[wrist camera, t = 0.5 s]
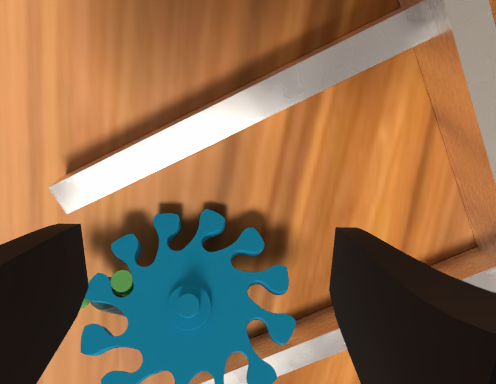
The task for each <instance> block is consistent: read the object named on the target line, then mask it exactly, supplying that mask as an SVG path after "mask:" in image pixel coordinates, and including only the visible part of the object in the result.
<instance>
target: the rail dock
mask: <svg viewBox="0 0 496 384" xmlns="http://www.w3.org/2000/svg"><path fill="white" fill-rule="evenodd" d="M399 3H400V6H401V8H399V9H397V10H395V11H393V12H391V13H389V14H386V15H384V16H382V17H380V18H378V19H376V20H374V21H372V22H370V23H368V24H366V25H364V26H362V27H360V28H358V29H356V30H354V31H352V32H350V33H348V34H346V35H344V36H342V37H340V38H338V39H336V40H334V41H332V42H330V43H328V44H326V45H324V46H322V47H320V48H318V49H316V50H314V51H312V52H310V53H308V54H306V55H304V56H302V57H300V58H298V59H296V60H294V61H292V62H290V63H288V64H286V65H284V66H282V67H280V68H278V69H276V70H274V71H272V72H270V73H268V74H266V75H264V76H262V77H260V78H258V79H256V80H254V81H252V82H250V83H248V84H246V85H244V86H242V87H240V88H238V89H236V90H234V91H232V92H230V93H228V94H226V95H224V96H222V97H220V98H218V99H216V100H214V101H212V102H210V103H208V104H206V105H204V106H202V107H200V108H198V109H196V110H194V111H192V112H190V113H188V114H186V115H184V116H182V117H180V118H178V119H176V120H174V121H172V122H170V123H168V124H166V125H164V126H162V127H160V128H158V129H156V130H154V131H152V132H150V133H148V134H146V135H144V136H142V137H140V138H138V139H136V140H134V141H132V142H130V143H128V144H126V145H124V146H122V147H120V148H118V149H116V150H114V151H112V152H110V153H108V154H106V155H104V156H102V157H100V158H98V159H96V160H94V161H92V162H90V163H88V164H86V165H84V166H82V167H80V168H78V169H76V170H74V171H72V172H70V173H68V174H66V175H65V176H63V177H62V178H60V179H59V180H58V181H56V182H55V183H54V184H52V185H51V186H50V187H48V188H49V189H50V191H51V192H52V193H53V195H54V196H55V198H56V199H57V201H58V202H59V203H60V205H61V206H62V208H63V209H64V211H65V212H66V214H68V213H71V212H73V211H75V210H77V209H79V208H81V207H83V206H85V205H87V204H89V203H91V202H93V201H95V200H97V199H100V198H102V197H104V196H106V195H108V194H110V193H112V192H114V191H116V190H118V189H120V188H122V187H124V186H126V185H128V184H131V183H133V182H135V181H137V180H139V179H141V178H143V177H145V176H147V175H149V174H151V173H153V172H155V171H157V170H159V169H162V168H164V167H166V166H168V165H170V164H172V163H174V162H176V161H178V160H180V159H182V158H184V157H186V156H188V155H191V154H193V153H195V152H197V151H199V150H201V149H203V148H205V147H207V146H209V145H211V144H213V143H215V142H217V141H219V140H222V139H224V138H226V137H228V136H230V135H232V134H234V133H236V132H238V131H240V130H242V129H244V128H246V127H248V126H250V125H253V124H255V123H257V122H259V121H261V120H263V119H265V118H267V117H269V116H271V115H273V114H275V113H277V112H279V111H282V110H284V109H286V108H288V107H290V106H292V105H294V104H296V103H298V102H300V101H302V100H304V99H306V98H308V97H310V96H313V95H315V94H317V93H319V92H321V91H323V90H325V89H327V88H329V87H331V86H333V85H335V84H337V83H339V82H341V81H344V80H346V79H348V78H350V77H352V76H354V75H356V74H358V73H360V72H362V71H364V70H366V69H368V68H370V67H373V66H375V65H377V64H379V63H381V62H383V61H385V60H387V59H389V58H391V57H393V56H395V55H397V54H399V53H401V52H404V51H406V50H408V49H410V48H412V47H414V50H415V53H416V56H417V59H418V63H419V66H420V69H421V72H422V75H423V78H424V81H425V85H426V88H427V91H428V94H429V97H430V100H431V103H432V106H433V110H434V113H435V116H436V119H437V122H438V125H439V128H440V132H441V135H442V138H443V141H444V144H445V147H446V150H447V153H448V157H449V160H450V163H451V166H452V169H453V172H454V175H455V178H456V182H457V185H458V188H459V191H460V194H461V197H462V200H463V204H464V207H465V210H466V213H467V216H468V219H469V222H470V225H471V229H472V232H473V235H474V238H475V241H476V244H477V247H475V248H473V249H470V250H468V251H465V252H463V253H461V254H458V255H456V256H453V257H451V258H448V259H446V260H443V261H441V262H438V263H436V264H434V265H431V266H430V267H432V268H434V269H436V270H439V271H441V272H443V273H445V274H447V275H450V276H452V277H454V278H457V279H459V280H462V281H464V282H467V283H469V284H472V285H474V286H477V287H480V288H483V289H485V290H488V291H491V292H496V27H495V23H494V19H493V15H492V10H491V6H490V2H489V0H399ZM249 341H250V343H251V346H252V348H253V349H254V351H255V352H256V354H257V355H258V356H259V357H260V358H261V359H262V360H263V361H265V362H266V363H268V364H270V365H271V366H272V367H273V368H274V370H275V372H276V375H277V376H280V375H283V374H285V373H288V372H290V371H293V370H295V369H298V368H301V367H303V366H306V365H308V364H311V363H313V362H316V361H319V360H321V359H324V358H326V357H329V356H331V355H334V354H337V353H339V352H342V351H344V350H347V347H346V344H345V342H344V339H343V336H342V334H341V331H340V328H339V326H338V323H337V320H336V317H335V313H334V309H333V306H330V307H328V308H325V309H323V310H320V311H318V312H315V313H313V314H311V315H308V316H306V317H303V318H301V319H298V320H296V324H295V328H294V331H293V333H292V335H291V337H290V339H289V340H288V341H287V342H286V344H284V345H279V344H277V343H275V342H274V341H272V339H271V338H270V336H269V333H268V332H266V333H264V334H261V335H259V336H256V337H254V338H252V339H249ZM248 364H249V363H248V359H247V357H246V356H245V355H244V354H243V353H240V352H235V353H232V354H231V355H230V356H229V357H228V359H227V362H226V366H225V372H224V384H247V380H246V377H247V371H248ZM189 384H215V382H214V378H213V376H212V375H211V374H210V373H209V372H206V371H203V372H200V373H198V374H197V375H196V376H195V377H194V378H193V379H192V380H191V381H190V383H189Z"/></svg>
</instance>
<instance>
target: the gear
mask: <svg viewBox="0 0 496 384" xmlns="http://www.w3.org/2000/svg"><path fill="white" fill-rule="evenodd" d="M154 227H155V229H156V231H157V233H158V237H159V247H158V252H157V255H156V258H155V261H154V262H153V263H152V264H151V265H150V266H147V267H141V266H139V265H138V259H139V256H140V253H141V244H140V242H139V241H138V239H137V238H136V236H135V235H133V234H128V235H125V236H123V237H121V238H119V239H118V240H116V241H115V242H113V243H112V244H111V249H112V252H113V253H114V254H115V256H116V257H117V258H118V259H119V260H121V261H122V262H124V263H125V264H127V265H128V267H129V269H130V271H131V274H132V275H131V274H130V272H128V271H126V270H120V271H117V272H116V273H114V274H113V276H112V277H107V276H106V275H104V274H102V273H97V274H96V275H95V276H94V277H93V278H92V279H91V280H90V282H89V283H88V286H89V288H88V290H87V293H86V295H85V298H84V300H83V303H82V305H81V308H84V307H85V306H87V305H88V303H89V302H91V304H92V305H93V306H94V307H95V308H97V309H99V310H101V311H103V312H108V313H112V314H117V315H121V316H125V317H127V319H128V328H127V330H126V331H125V332H124V333H123V334H122V335H120V336H113V335H112V334H111V333H110V332H109V331H108V330H107V329H106V328H104V327H102V326H100V325H98V324H89V325H87V326H85V327H84V330H83V333H82V337H81V353H83V354H86V355H91V356H98V355H101V354H102V353H104V352H106V351H108V350H110V349H113V348H118V347H129V348H134V349H138V350H139V351H140V352H141V353H142V355H143V363H142V365H141V367H140V368H139V369H138V370H137V371H136V372H134V373H128V372H124V371H112V372H109V373H107V374H106V375H105V376H104V377H103V378H102V379H101V384H140V383H141V382H142V381H143V380H144V379H146V378H147V377H149V376H151V375H153V374H156V373H159V372H161V371H165V370H167V371H170V372H171V373H172V374H173V376H174V379H175V384H189V383H190V381H191V380H192V379H193V378H194V377H195V376H196V375H197V374H198V373H200V372H203V371H206V372H209V373H210V374H211V375H212V376H213V378H214V382H215V384H224V372H225V366H226V362H227V359H228V357H229V356H230V355H231V354H232V353H235V352H240V353H243V354H244V355H245V356H246V357H247V359H248V363H249V364H248V371H247V377H246V380H247V384H272V383H273V382H274V381H275V380H276V379H277V375H276V372H275V370H274V368H273V367H272V366H271V365H270V364H268V363H266V362H265V361H263V360H262V359H261V358H260V357H259V356H258V355H257V354H256V352H255V351H254V349H253V348H252V346H251V343H250V341H249V338H248V334H247V330H246V326H247V324H248V323H249V322H250V321H252V320H261V321H262V322H264V324H265V325H266V327H267V330H268V333H269V336H270V338H271V339H272V341H274V342H275V343H277V344H279V345H284V344H286V342H287V341H288V340H289V339H290V337H291V335H292V333H293V331H294V328H295V324H296V321H295V319H294V318H293V317H292V316H290V315H288V314H276V313H271V312H268V311H266V310H264V309H262V308H261V307H259V306H258V305H257V304H256V303H255V302H253V301H252V300H251V299H250V298H249V296H248V293H247V290H248V288H249V287H250V286H251V285H254V284H260V285H262V286H264V287H265V288H266V289H267V290H268V291H269V292H271V293H272V294H275V295H282V294H284V293H286V291H287V289H288V285H289V279H288V272H287V268H286V267H285V266H283V265H275V266H273V267H271V268H269V269H267V270H264V271H261V272H246V271H241V270H237V269H235V268H234V267H233V266H232V264H231V260H232V258H233V257H235V256H236V255H246V256H252V257H253V256H257V255H259V254H261V253H262V251H263V250H264V246H265V244H264V241H263V239H262V237H261V236H260V234H259V233H258V232H257V230H256V229H255V228H254V227H250V228H247V229H245V230H244V231H243V232H242V234H241V235H240V237H239V238H238V239H237V240H236V241H235V242H234V243H233V244H232V245H230V246H229V247H227V248H224V249H222V250H219V251H215V252H208V251H206V250H205V249H204V248H203V247H202V246H203V243H204V242H205V241H206V240H207V239H209V238H212V237H215V236H218V235H220V234H221V233H222V232H223V231H224V229H225V218H224V217H223V216H222V215H220V214H219V213H217V212H214V211H212V210H209V209H206V210H204V211H203V212H202V213H201V215H200V222H199V228H198V231H197V233H196V235H195V237H194V238H193V239H192V241H191V242H190V243H189V244H188V245H187V246H186V247H185V248H184V249H182V250H180V251H174V250H171V249H170V248H169V244H170V242H171V240H172V239H173V238H174V237H175V236H176V235H177V234H178V233H179V232H180V230H181V222H180V219H179V216H178V215H177V214H174V213H163V214H156V216H155V217H154ZM81 308H80V309H81Z"/></svg>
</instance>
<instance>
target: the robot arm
mask: <svg viewBox="0 0 496 384" xmlns="http://www.w3.org/2000/svg"><path fill="white" fill-rule="evenodd" d="M88 288H89V286H88V278H87V270H86V263H85V255H84V247H83V239H82V231H81V224H56V225H51V226H48V227H45V228H42V229H39V230H37V231H34V232H31V233H29V234H26V235H24V236H21V237H19V238H16V239H14V240H11V241H9V242H6V243H4V244H2V245H0V384H36V383H37V382H38V380H39V378H40V377H41V375H42V374H43V372H44V370H45V369H46V367H47V365H48V364H49V362H50V360H51V359H52V357H53V355H54V354H55V352H56V351H57V349H58V347H59V346H60V344H61V342H62V341H63V339H64V337H65V336H66V334H67V332H68V331H69V329H70V327H71V326H72V324H73V322H74V320H75V319H76V317H77V315H78V312H79V310H80V308H81V305H82V303H83V300H84V298H85V295H86V293H87V290H88ZM329 290H330V295H331V300H332V304H333V309H334V313H335V317H336V320H337V323H338V326H339V328H340V331H341V334H342V336H343V339H344V342H345V344H346V347H347V349H348V352H349V354H350V357H351V359H352V362H353V365H354V367H355V370H356V372H357V375H358V377H359V380H360V382H361V384H496V293H494V292H491V291H488V290H485V289H483V288H480V287H477V286H474V285H472V284H469V283H467V282H464V281H462V280H459V279H457V278H454V277H452V276H450V275H447V274H445V273H443V272H441V271H439V270H436V269H434V268H432V267H430V266H428V265H426V264H424V263H422V262H420V261H418V260H416V259H415V258H413V257H411V256H409V255H407V254H405V253H403V252H402V251H400V250H398V249H396V248H395V247H393V246H391V245H389V244H388V243H386V242H384V241H382V240H381V239H379V238H377V237H375V236H374V235H372V234H370V233H368V232H366V231H364V230H362V229H359V228H339V227H336V230H335V240H334V250H333V259H332V269H331V278H330V288H329Z"/></svg>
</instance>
